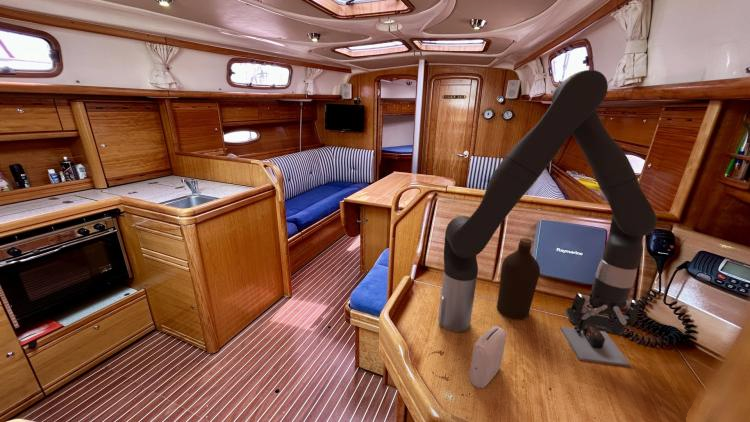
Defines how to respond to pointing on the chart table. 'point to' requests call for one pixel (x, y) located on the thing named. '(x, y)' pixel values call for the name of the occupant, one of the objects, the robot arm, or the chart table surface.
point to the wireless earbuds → (592, 335)
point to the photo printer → (487, 356)
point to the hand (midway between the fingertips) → (597, 330)
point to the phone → (594, 321)
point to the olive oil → (518, 282)
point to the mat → (588, 353)
